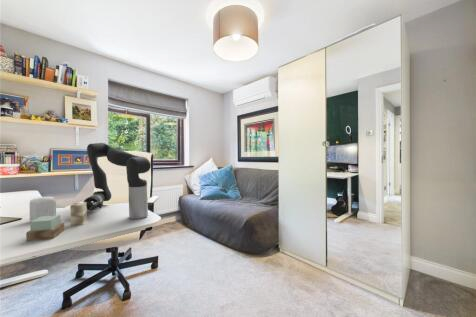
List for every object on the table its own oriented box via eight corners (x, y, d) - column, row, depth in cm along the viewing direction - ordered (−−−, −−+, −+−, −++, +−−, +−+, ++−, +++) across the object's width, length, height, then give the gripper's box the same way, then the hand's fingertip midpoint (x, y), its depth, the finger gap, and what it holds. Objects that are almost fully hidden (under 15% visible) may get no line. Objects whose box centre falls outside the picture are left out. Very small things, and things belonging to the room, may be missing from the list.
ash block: (86, 221, 106) (86, 202, 106) (83, 224, 101) (82, 204, 101) (75, 222, 104) (74, 203, 104) (70, 225, 100) (70, 205, 99)
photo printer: (57, 217, 112) (56, 195, 112) (55, 219, 109) (54, 196, 108) (31, 220, 107) (30, 197, 106) (28, 223, 103) (27, 199, 103)
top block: (60, 223, 92) (60, 215, 92) (51, 229, 86) (50, 220, 85) (41, 225, 90) (41, 216, 90) (30, 231, 84) (30, 221, 83)
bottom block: (64, 231, 94) (64, 222, 94) (54, 239, 85) (53, 229, 85) (39, 233, 91) (39, 224, 91) (26, 242, 82) (26, 232, 82)
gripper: (79, 196, 120) (65, 203, 104) (106, 194, 124) (97, 201, 109) (79, 209, 120) (66, 217, 105) (107, 207, 125) (98, 214, 109)
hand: (82, 209), depth 107 cm, fingers open, 8 cm apart
